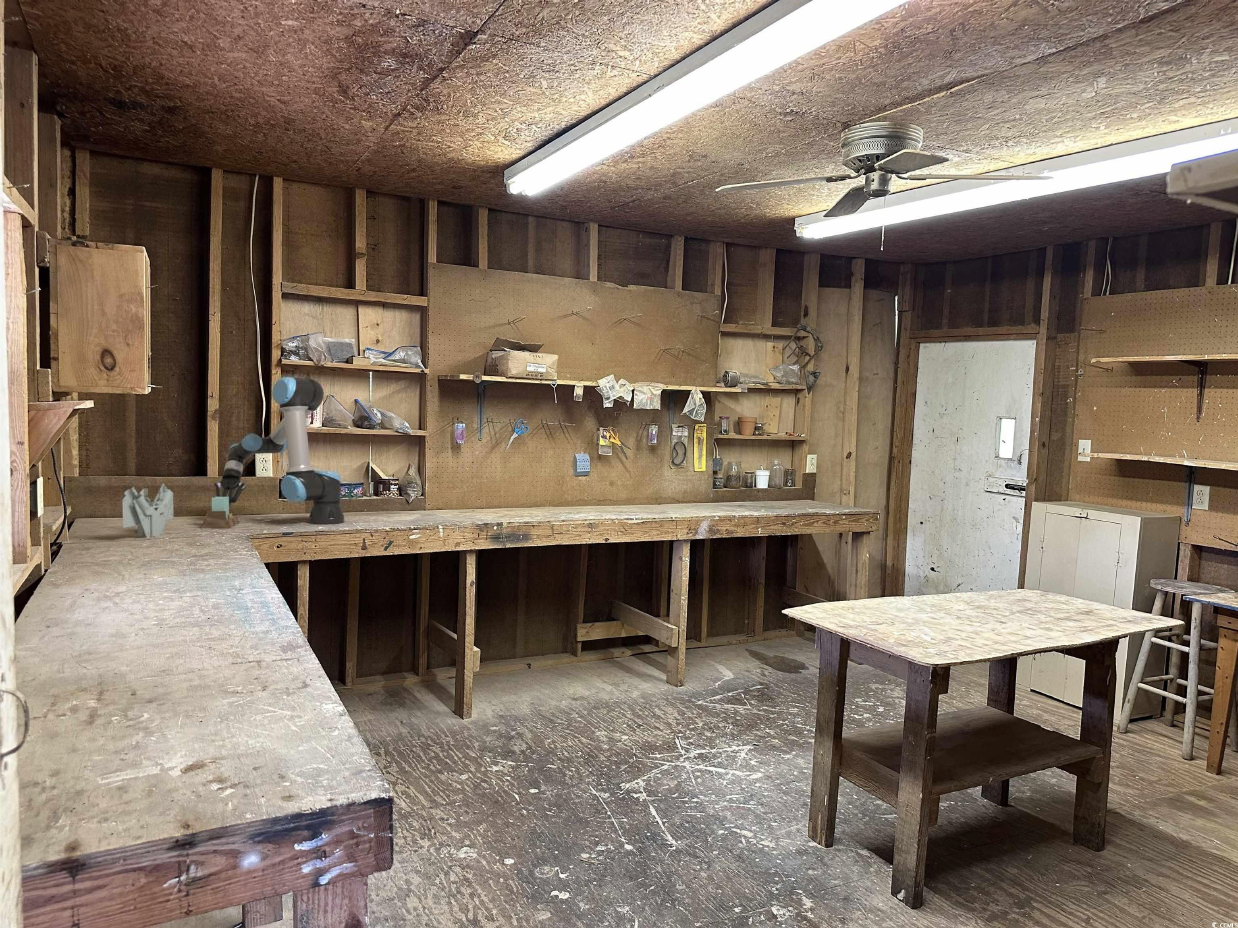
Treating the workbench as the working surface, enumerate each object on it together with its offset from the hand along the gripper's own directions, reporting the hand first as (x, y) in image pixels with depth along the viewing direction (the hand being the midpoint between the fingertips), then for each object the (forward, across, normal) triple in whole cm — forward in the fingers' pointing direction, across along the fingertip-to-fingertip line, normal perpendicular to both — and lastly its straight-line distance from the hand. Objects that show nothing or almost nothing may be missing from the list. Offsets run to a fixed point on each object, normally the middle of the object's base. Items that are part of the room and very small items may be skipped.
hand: (223, 514), depth 355 cm
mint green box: (+6, 0, +1) cm, 6 cm away
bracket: (+25, +19, +19) cm, 37 cm away
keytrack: (+7, 0, 0) cm, 7 cm away
